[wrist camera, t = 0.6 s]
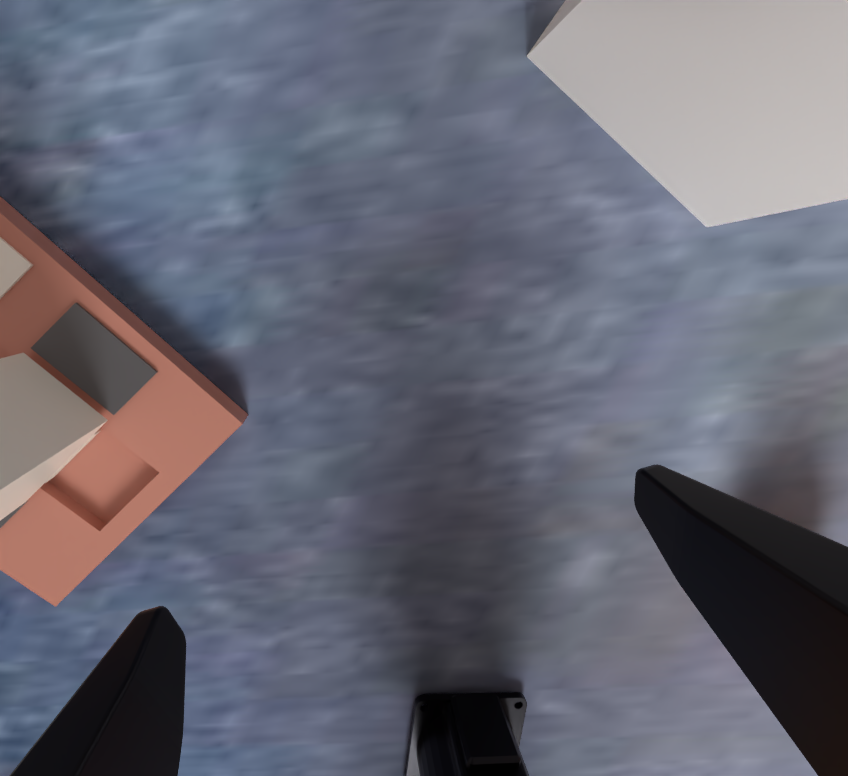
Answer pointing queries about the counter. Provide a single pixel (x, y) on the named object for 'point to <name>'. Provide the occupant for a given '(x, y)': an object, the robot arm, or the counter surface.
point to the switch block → (111, 397)
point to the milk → (714, 95)
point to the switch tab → (37, 429)
